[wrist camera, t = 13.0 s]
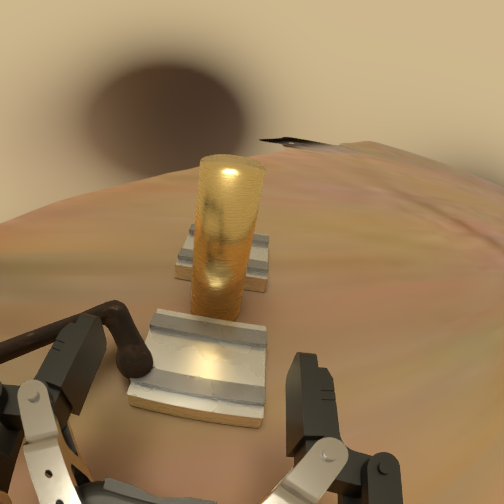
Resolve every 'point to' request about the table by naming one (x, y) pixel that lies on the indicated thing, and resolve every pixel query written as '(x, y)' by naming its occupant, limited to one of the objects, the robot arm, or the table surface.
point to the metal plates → (207, 356)
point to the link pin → (224, 233)
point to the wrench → (112, 316)
